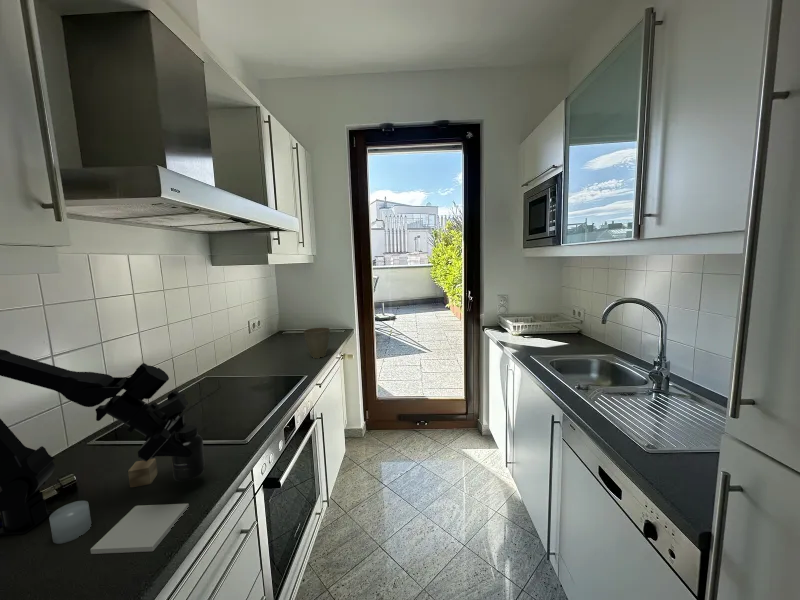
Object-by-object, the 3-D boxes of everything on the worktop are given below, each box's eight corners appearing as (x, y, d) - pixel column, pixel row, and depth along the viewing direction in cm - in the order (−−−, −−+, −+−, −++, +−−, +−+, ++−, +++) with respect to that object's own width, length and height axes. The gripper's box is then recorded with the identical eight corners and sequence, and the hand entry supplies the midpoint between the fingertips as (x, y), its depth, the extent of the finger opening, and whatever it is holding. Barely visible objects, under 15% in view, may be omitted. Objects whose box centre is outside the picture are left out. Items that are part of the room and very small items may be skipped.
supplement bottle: (174, 486, 83) (169, 438, 81) (172, 472, 88) (168, 427, 87) (207, 475, 87) (202, 429, 85) (203, 462, 92) (199, 419, 91)
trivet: (91, 553, 68) (90, 549, 68) (136, 509, 80) (135, 505, 80) (153, 551, 68) (152, 546, 68) (189, 507, 80) (188, 503, 80)
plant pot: (334, 353, 208) (332, 327, 207) (327, 360, 194) (326, 332, 192) (309, 353, 209) (307, 327, 207) (301, 360, 194) (299, 332, 192)
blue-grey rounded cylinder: (44, 544, 71) (40, 521, 70) (71, 522, 77) (68, 501, 76) (74, 543, 71) (70, 520, 70) (99, 521, 77) (95, 500, 76)
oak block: (130, 487, 88) (127, 471, 87) (138, 477, 92) (136, 461, 92) (150, 484, 89) (148, 467, 88) (157, 474, 93) (155, 458, 93)
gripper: (149, 401, 74) (212, 439, 80) (171, 374, 92) (221, 407, 97) (109, 443, 73) (175, 479, 78) (139, 408, 90) (191, 440, 95)
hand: (193, 447), depth 87 cm, fingers closed on supplement bottle, 7 cm apart
